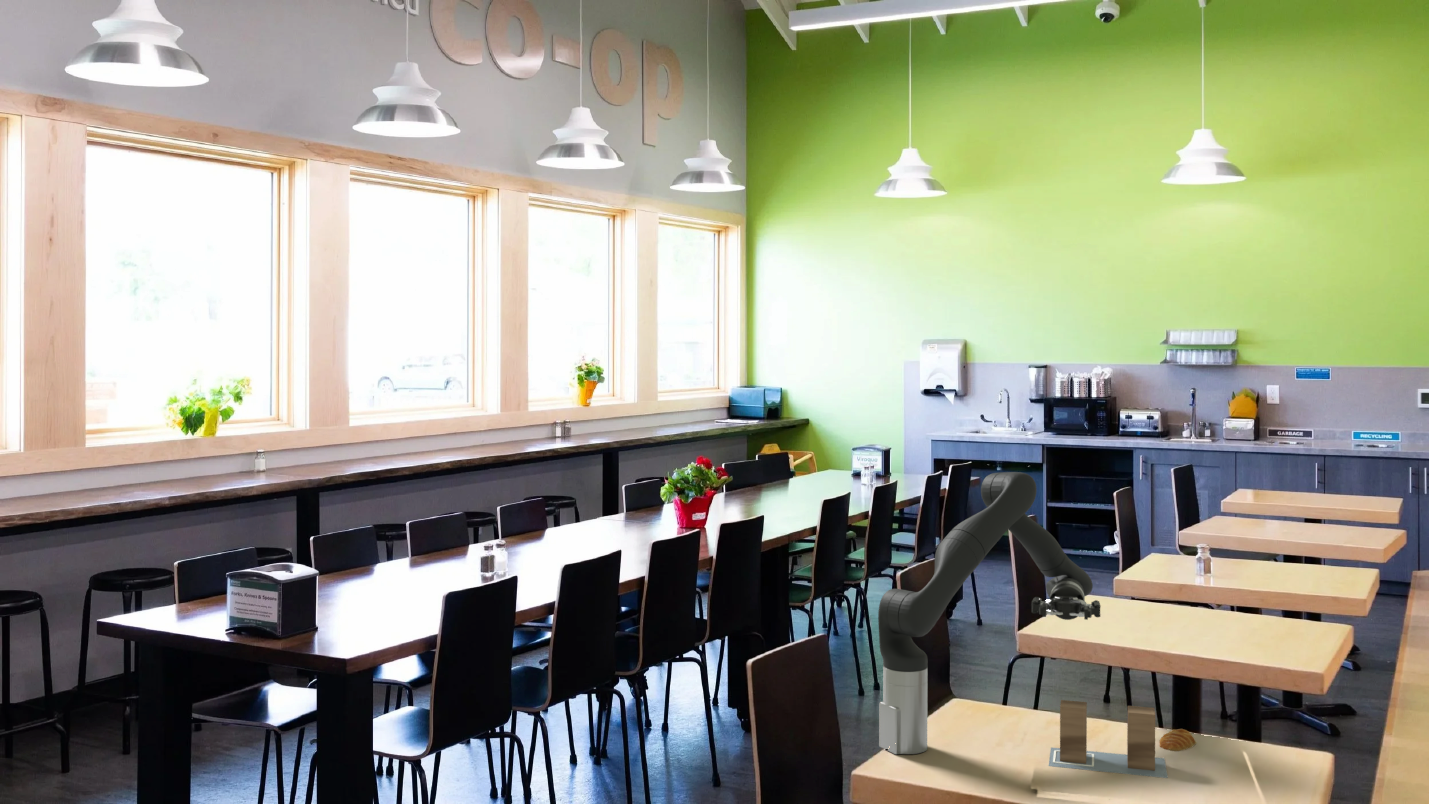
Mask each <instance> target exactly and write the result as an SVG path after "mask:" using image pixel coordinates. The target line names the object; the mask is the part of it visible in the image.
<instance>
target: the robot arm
mask: <svg viewBox="0 0 1429 804" xmlns="http://www.w3.org/2000/svg"><path fill="white" fill-rule="evenodd" d="M1037 490H1038V489H1037V484H1036V481H1035V480H1034V478H1033V477H1032V475H1030V474H1028V473H1026V472H1021V471H1019V472H1018V471H1011V472H1010V471H1009V472H1008V471H1005V472H993V473H991V474H987V475H986V477H985V478H984V479H983V480H982V483H981V485H980V494H981V499H982V501H983V503H984V505H985V507H986V508H984V509H983V510H981V511H979V512H977V513H975V514H973V515H971V516H969V517H968V518H966V519H965V520H962V521H961V522H960V523H958V524H957V525H955V526H954V527H953V528H952V529H951V530H950V531H949V532H948V534H947V535H946V536H945V537H944V538H943V540H942V541H941V542H940V543H939V544H938V546H937V548H936V550H935V555H934V572H933V573H934V574H933V576H932V578H931V579H930V580H929V581H928V583H927V584H926V585H925V586H924V587H923V588H922V589H921V590H919V591H911V590H907V589H901V588H892V589H891V588H890V589H888V590H887V591H885V592H884V593H883V595H882V597H881V599H880V602H879V605H878V612H877V613H878V616H877V619H878V640H879V641H878V642H879V652H880V655H881V658H882V667H883V669H882V670H883V671H882V673H883V674H882V678H883V679H882V686H883V687H882V694H883V695H882V696H883V697H882V701H880V702H879V703H878V706H879V707H878V709H879V710H878V714H879V715H878V726H879V727H878V730H879V731H878V737H879V738H878V746H879V748H882V749H884V750H886V749H888V748H889V746H890V748H889V749H888V750H887V751H888V752H890V753H891V754H894V755H916V754H921V753H924V752H926V751H927V750H928V655H927V654H926V652H925V651H924V650H923V649H921V648H920V647H918V645H917V644H916V643H915V642H914V640H913V639H912V638H921V637H925V636H926V635H928V633H929V632H931V630H932V629H933V628H934V627H935V625H936V624H937V623H938V621H939V619H940V618H941V616H942V615H943V613H944V612H945V610H946V608H947V606H948V605H949V603H950V602H951V601H952V599H953V597H954V596H955V595H956V594H957V592H958V591H959V589H960V588H961V587H962V586H963V584H964V582H966V580H967V579H968V578H969V576H970V575H971V574H973V572H974V571H975V570H976V569H977V568H978V567H979V565H980V564H981V562H982V561H983V560H984V559H985V557H986V556H987V555H988V553H989V552H990V551H991V550H992V548H993V547H994V546H995V545H996V544H997V542H999V541H1000V540H1001V538H1002V537H1003V535H1005V533H1006V532H1007V531H1009V532H1010V533H1011V534H1012V535H1013V537H1015V538H1016V540H1018V541H1019V543H1020V544H1021V545H1022V546H1023V547H1024V549H1025V550H1026V551H1027V553H1028V554H1029V555H1030V557H1031V559H1032V560H1033V562H1034V563H1035V565H1036V566H1037V567H1038V569H1039V571H1040V572H1041V573H1042V575H1043V576H1045V577H1048V578H1051V579H1049V580H1048V581H1047V582H1046V585H1045V589H1046V593H1047V596H1048V598H1047V599H1046V600H1043V599H1042V598H1040V597H1039V596H1035V597H1033V599H1032V600H1031V613H1032V614H1039V615H1041V616H1042V617H1043V618H1046V617H1047V615H1049V616H1055V617H1057V618H1059V619H1060V620H1061V619H1062V620H1064V621H1071V620H1075V619H1077V618H1078V617H1079V618H1084V620H1087V621H1088V619H1091V618H1092V617H1093V616H1094V617H1095V618H1100V617H1101V606H1102V605H1101V603H1100V601H1099V600H1097V599H1095V600H1093V601H1091V603H1088V602H1087V601H1086V599H1085V598H1086V597H1087V596H1088V595H1089V594H1091V592H1092V591H1093V581H1092V578H1091V577H1090V575H1089V574H1088V573H1087V572H1086V571H1085V570H1084V569H1083V568H1081V567H1080V566H1079V565H1078V564H1076V563H1075V562H1074V561H1072V559H1070V558H1069V557H1068V555H1067V554H1066V553H1065V551H1064V550H1063V548H1062V547H1061V545H1060V544H1059V542H1058V541H1057V539H1056V538H1055V536H1053V535H1052V534H1051V533H1050V532H1049V531H1048V530H1047V529H1045V528H1044V527H1043V526H1041V525H1040V524H1039V523H1037V522H1036V521H1034V520H1033V519H1032V518H1031V517H1030V516H1028V515H1027V514H1026V513H1027V512H1028V511H1029V509H1031V507H1032V505H1034V502H1035V500H1036V496H1037ZM895 743H896V744H895Z"/></svg>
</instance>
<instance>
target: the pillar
mask: <svg viewBox="0 0 1429 804" xmlns="http://www.w3.org/2000/svg"><path fill="white" fill-rule="evenodd" d="M1087 704H1088V702H1087V701H1076V700H1075V701H1074V700H1066V699H1061V700H1060V706H1059V707H1060V708H1059V709H1060V710H1059V748H1060V761H1063V762H1073V763H1083V764H1086V757H1087V751H1088V750H1087V746H1088V745H1087V744H1088V743H1087V738H1088V737H1087V733H1088V731H1087V729H1088V727H1087V726H1088V725H1087V724H1088V723H1087V722H1088V720H1087V718H1088V717H1087V716H1088V715H1087V714H1088V712H1087V711H1088V705H1087Z"/></svg>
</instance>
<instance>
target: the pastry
mask: <svg viewBox="0 0 1429 804" xmlns="http://www.w3.org/2000/svg"><path fill="white" fill-rule="evenodd" d="M1158 743H1159V748H1161V749H1163V750H1166V751H1170V752H1180V751H1184V750H1188V749H1192V748H1193V747H1194V746H1195V745H1196V744H1197V743H1198V742H1197V741H1196V738H1195V737H1194V736H1193V734H1192V733H1191V732H1190V731H1188V730H1187V729H1183V728H1178V729H1172V730H1171V731H1168V732H1166V733H1164V734H1163V736H1162V737H1161V738H1160V740H1159V742H1158Z"/></svg>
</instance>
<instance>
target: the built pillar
mask: <svg viewBox="0 0 1429 804" xmlns="http://www.w3.org/2000/svg"><path fill="white" fill-rule="evenodd" d="M1126 726H1127V728H1126V729H1127V739H1126V741H1127V742H1126V746H1127V748H1126V755H1127V764H1128V768H1132V769H1142V770H1153V771H1155V757H1156V710H1155V707H1147V706H1138V705H1137V706H1136V705H1127V725H1126Z"/></svg>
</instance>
